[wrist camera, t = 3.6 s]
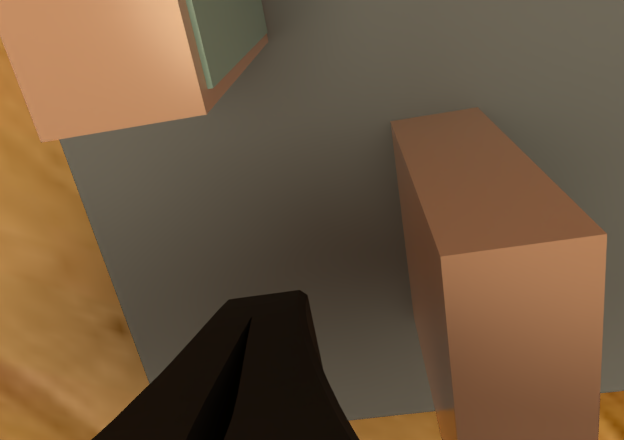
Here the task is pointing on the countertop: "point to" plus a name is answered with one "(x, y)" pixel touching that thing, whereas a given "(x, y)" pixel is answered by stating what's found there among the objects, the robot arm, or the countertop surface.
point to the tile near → (126, 59)
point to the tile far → (499, 283)
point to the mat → (351, 174)
